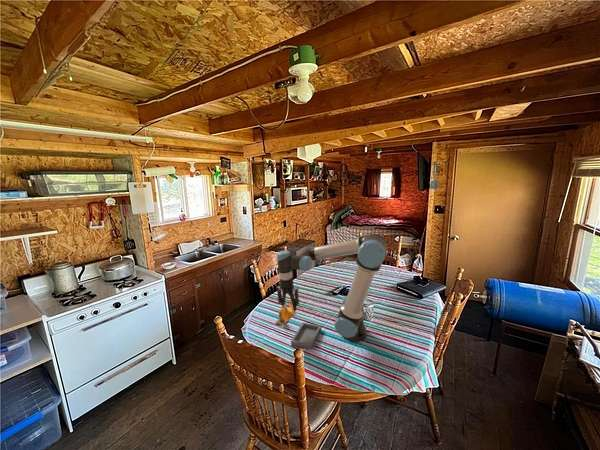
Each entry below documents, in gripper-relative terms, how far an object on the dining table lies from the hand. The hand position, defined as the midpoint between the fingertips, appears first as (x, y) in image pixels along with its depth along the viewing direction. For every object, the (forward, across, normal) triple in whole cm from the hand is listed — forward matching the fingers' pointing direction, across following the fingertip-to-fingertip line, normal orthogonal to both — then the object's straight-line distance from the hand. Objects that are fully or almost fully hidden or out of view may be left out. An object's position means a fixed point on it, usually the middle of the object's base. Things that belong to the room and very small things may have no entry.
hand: (290, 314), depth 144 cm
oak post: (+13, +12, -10) cm, 20 cm away
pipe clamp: (+1, 0, -1) cm, 1 cm away
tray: (+14, -9, -1) cm, 17 cm away
